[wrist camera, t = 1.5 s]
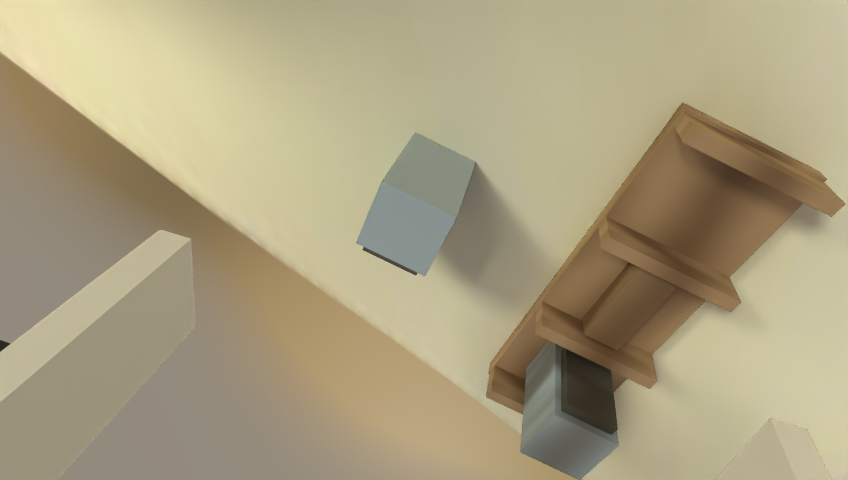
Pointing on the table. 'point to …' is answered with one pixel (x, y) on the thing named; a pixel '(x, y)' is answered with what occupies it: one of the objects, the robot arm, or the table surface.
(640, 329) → the wooden block holder
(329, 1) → the table surface
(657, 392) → the table surface
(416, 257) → the blue gray block
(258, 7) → the table surface
